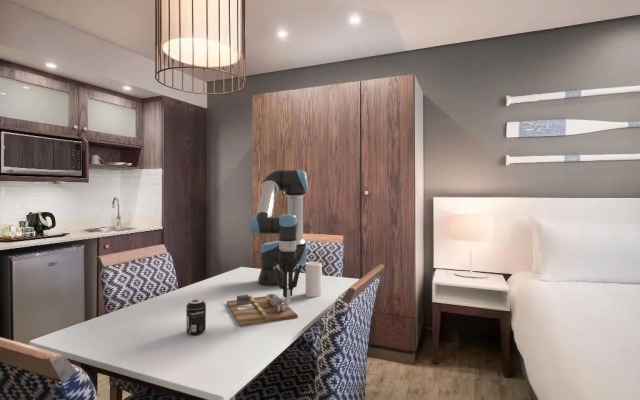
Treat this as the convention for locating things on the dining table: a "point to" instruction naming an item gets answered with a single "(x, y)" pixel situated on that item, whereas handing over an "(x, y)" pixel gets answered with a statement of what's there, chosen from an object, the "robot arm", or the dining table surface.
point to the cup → (313, 279)
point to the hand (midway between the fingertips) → (287, 303)
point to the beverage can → (196, 316)
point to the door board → (257, 310)
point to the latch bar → (275, 302)
